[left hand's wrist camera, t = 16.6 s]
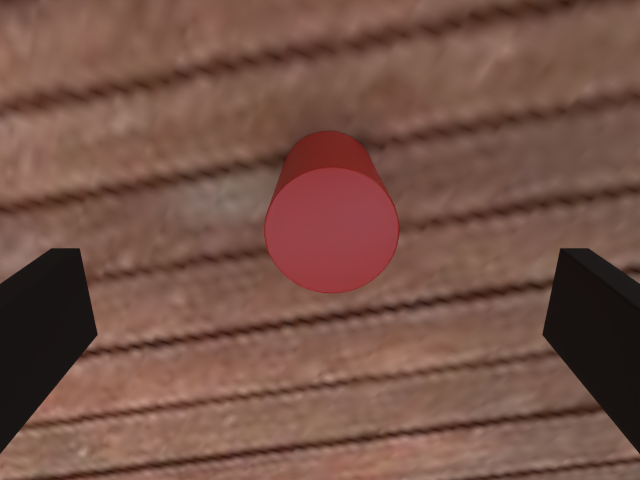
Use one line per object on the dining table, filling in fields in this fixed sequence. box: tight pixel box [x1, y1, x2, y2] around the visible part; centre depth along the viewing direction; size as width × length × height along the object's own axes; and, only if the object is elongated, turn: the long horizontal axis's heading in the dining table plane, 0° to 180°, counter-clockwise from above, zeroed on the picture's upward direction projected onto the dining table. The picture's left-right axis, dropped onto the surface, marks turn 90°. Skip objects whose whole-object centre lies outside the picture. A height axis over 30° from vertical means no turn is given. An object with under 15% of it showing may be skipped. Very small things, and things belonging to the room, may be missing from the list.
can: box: [264, 131, 399, 293], centre depth 22 cm, size 5×5×9 cm
